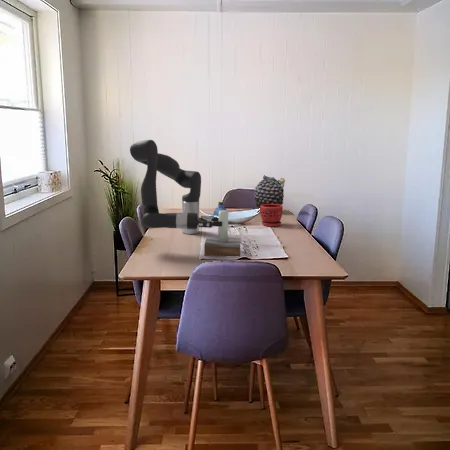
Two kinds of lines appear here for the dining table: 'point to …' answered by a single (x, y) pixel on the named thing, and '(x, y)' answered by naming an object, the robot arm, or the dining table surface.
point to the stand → (222, 247)
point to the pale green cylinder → (223, 226)
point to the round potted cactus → (269, 192)
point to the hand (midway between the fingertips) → (222, 222)
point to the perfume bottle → (219, 208)
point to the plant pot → (271, 214)
